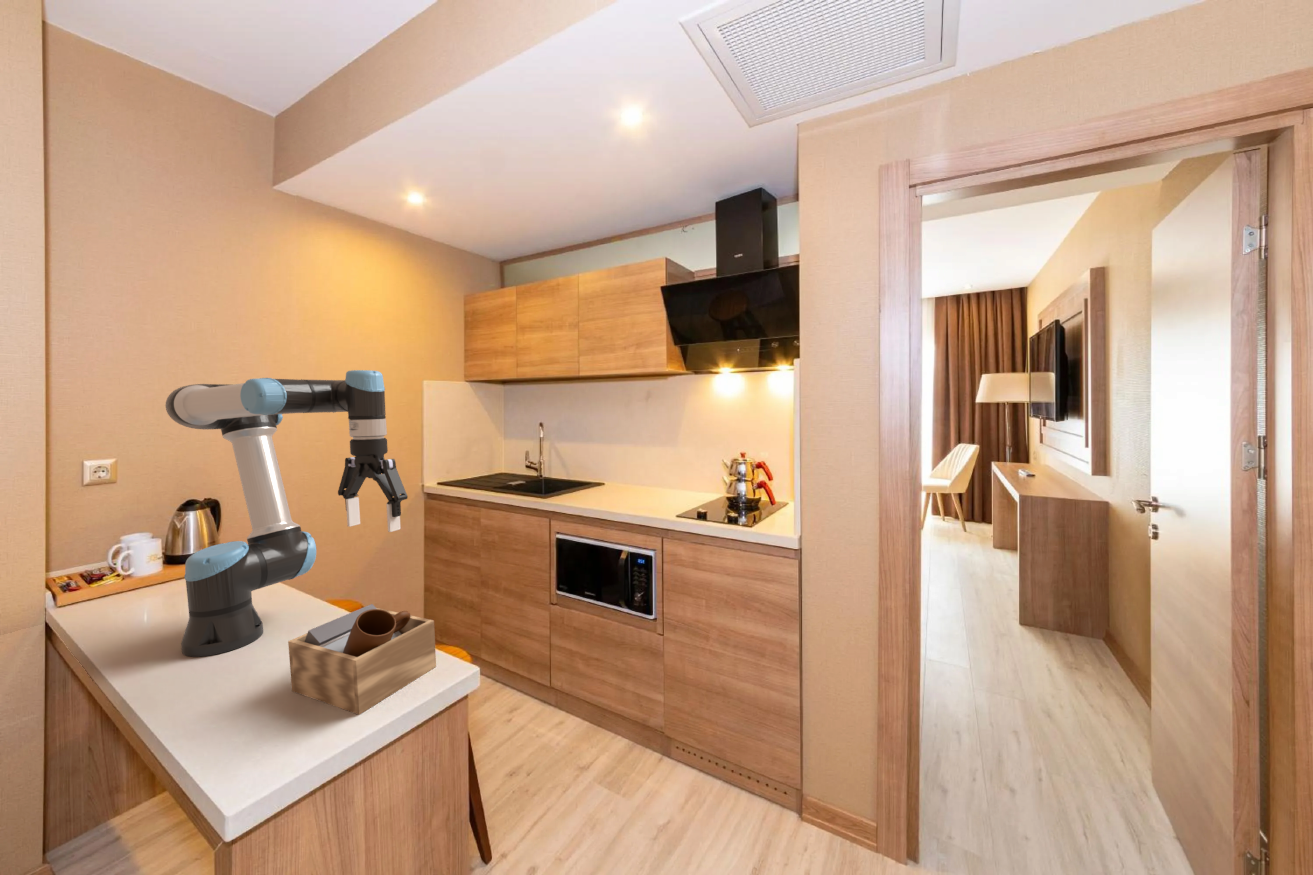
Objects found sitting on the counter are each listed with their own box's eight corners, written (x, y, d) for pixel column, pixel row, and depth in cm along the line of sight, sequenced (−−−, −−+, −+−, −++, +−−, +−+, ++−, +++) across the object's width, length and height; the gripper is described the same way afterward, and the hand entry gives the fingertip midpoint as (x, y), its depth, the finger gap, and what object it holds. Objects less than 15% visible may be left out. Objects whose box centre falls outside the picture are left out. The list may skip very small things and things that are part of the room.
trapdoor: (300, 645, 101) (306, 631, 100) (368, 615, 115) (374, 602, 114) (341, 691, 97) (347, 677, 96) (407, 654, 111) (412, 641, 110)
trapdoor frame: (291, 691, 101) (288, 641, 100) (373, 649, 118) (370, 606, 117) (359, 714, 93) (356, 660, 93) (436, 666, 110) (433, 620, 109)
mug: (389, 628, 111) (402, 596, 108) (409, 652, 108) (423, 619, 105) (333, 651, 100) (347, 616, 98) (354, 678, 97) (368, 642, 95)
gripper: (316, 437, 117) (322, 526, 119) (392, 440, 107) (397, 537, 109) (347, 435, 124) (352, 519, 126) (421, 437, 114) (425, 528, 116)
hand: (373, 527), depth 117 cm, fingers open, 13 cm apart
